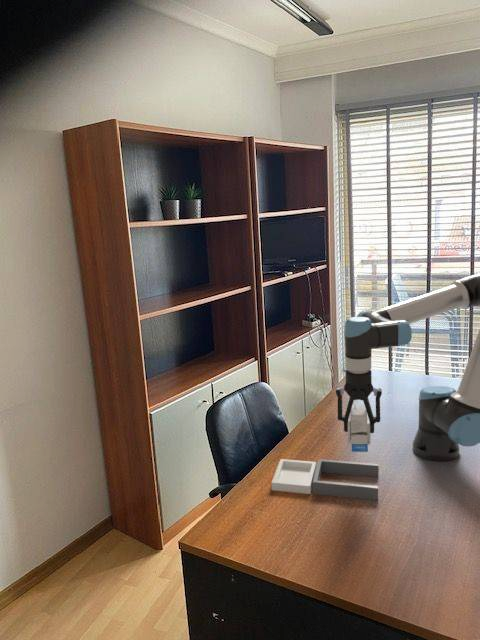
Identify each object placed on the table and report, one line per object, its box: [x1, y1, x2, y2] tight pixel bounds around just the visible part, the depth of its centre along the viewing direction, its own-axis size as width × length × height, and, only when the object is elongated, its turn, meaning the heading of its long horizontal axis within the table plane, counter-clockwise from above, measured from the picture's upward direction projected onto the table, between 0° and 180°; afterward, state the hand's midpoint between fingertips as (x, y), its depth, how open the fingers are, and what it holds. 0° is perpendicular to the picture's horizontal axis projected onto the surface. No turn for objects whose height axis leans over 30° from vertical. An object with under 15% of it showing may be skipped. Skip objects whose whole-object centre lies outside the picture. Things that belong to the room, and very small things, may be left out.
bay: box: [312, 458, 380, 501], centre depth 160 cm, size 19×14×4 cm
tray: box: [271, 458, 317, 495], centre depth 164 cm, size 12×15×3 cm
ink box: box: [350, 404, 369, 453], centre depth 155 cm, size 9×5×12 cm, turn 168°
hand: (359, 441), depth 156 cm, fingers closed on ink box, 5 cm apart
